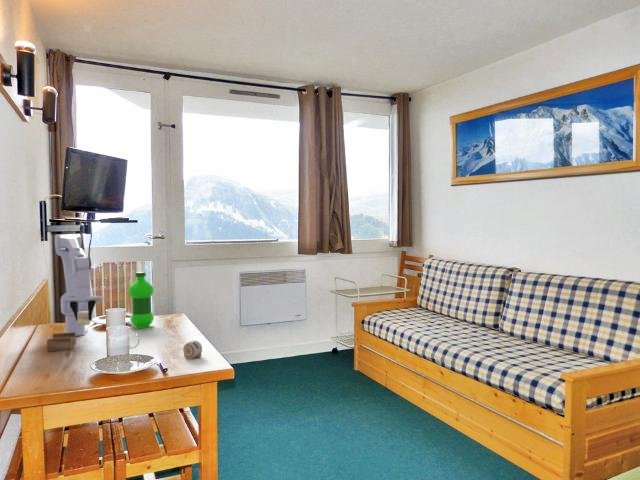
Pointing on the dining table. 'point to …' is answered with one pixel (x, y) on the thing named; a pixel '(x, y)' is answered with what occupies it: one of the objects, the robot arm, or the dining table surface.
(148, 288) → the plastic bottle
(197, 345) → the roller toy
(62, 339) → the walnut cradle
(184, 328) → the dining table surface
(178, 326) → the dining table surface
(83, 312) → the birch block
